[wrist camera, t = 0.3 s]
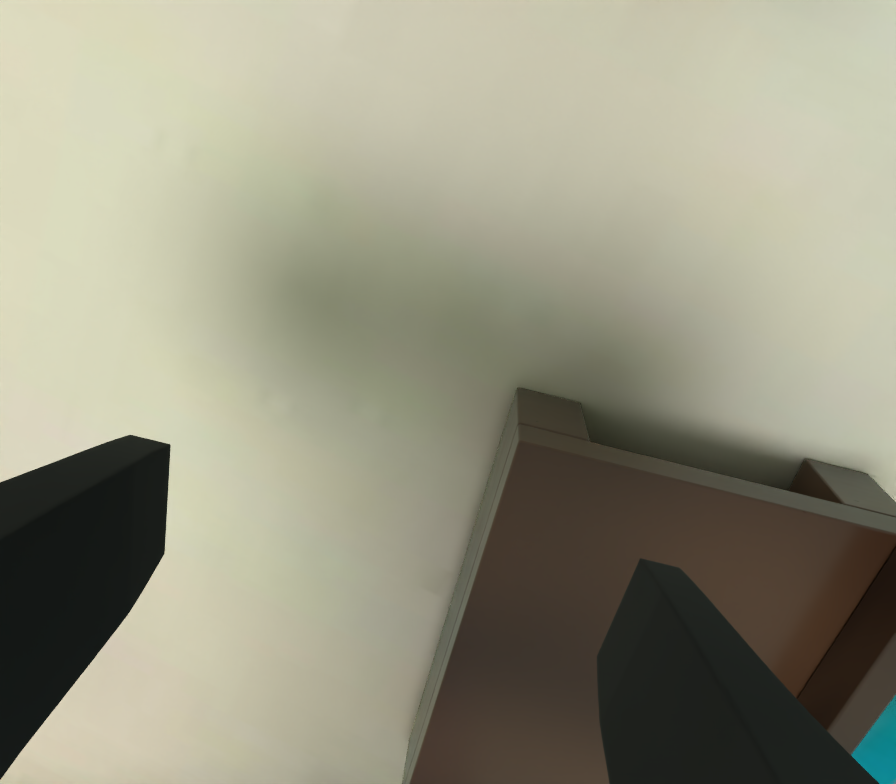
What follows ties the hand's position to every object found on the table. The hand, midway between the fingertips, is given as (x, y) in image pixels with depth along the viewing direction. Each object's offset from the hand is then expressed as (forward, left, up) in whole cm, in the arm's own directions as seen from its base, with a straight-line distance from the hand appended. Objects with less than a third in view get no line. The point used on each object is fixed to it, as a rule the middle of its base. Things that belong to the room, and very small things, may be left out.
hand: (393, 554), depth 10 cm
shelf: (-9, -8, -10) cm, 15 cm away
